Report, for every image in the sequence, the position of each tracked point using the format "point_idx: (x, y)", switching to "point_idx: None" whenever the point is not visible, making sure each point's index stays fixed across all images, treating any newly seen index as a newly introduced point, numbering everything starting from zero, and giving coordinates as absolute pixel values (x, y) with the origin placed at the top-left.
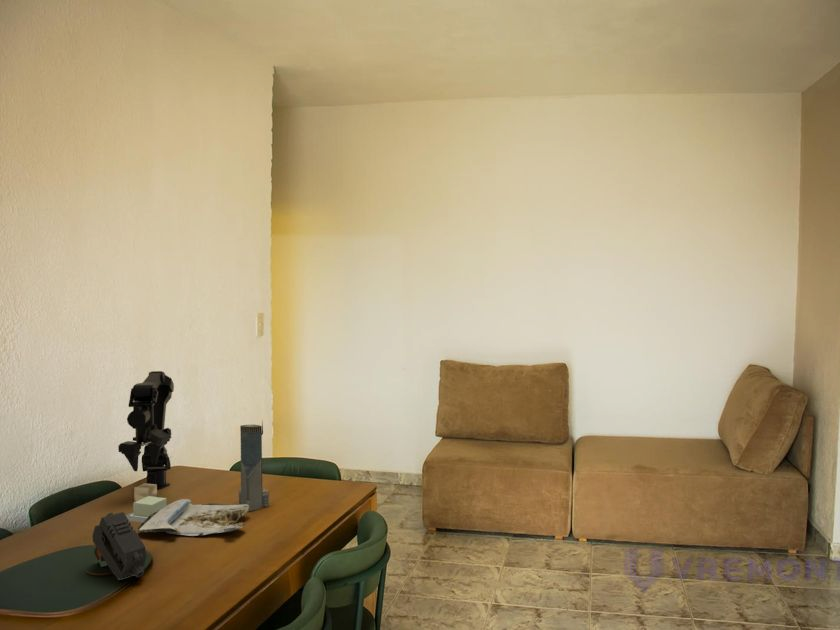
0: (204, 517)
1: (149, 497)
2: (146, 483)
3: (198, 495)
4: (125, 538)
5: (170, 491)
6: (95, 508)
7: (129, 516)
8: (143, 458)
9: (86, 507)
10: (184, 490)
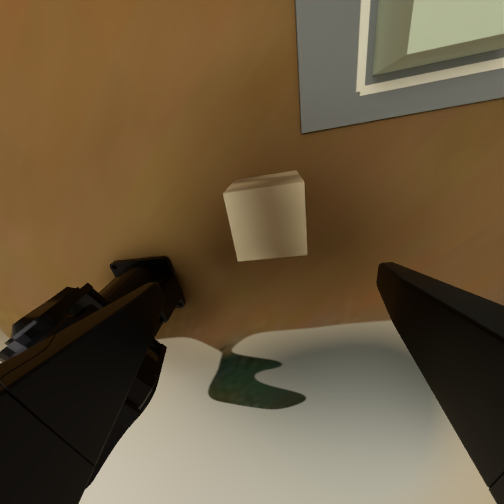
0: None
1: (439, 10)
2: (236, 251)
3: (86, 23)
4: None
5: (148, 206)
6: None
7: None
8: (145, 399)
9: None
10: (103, 165)
